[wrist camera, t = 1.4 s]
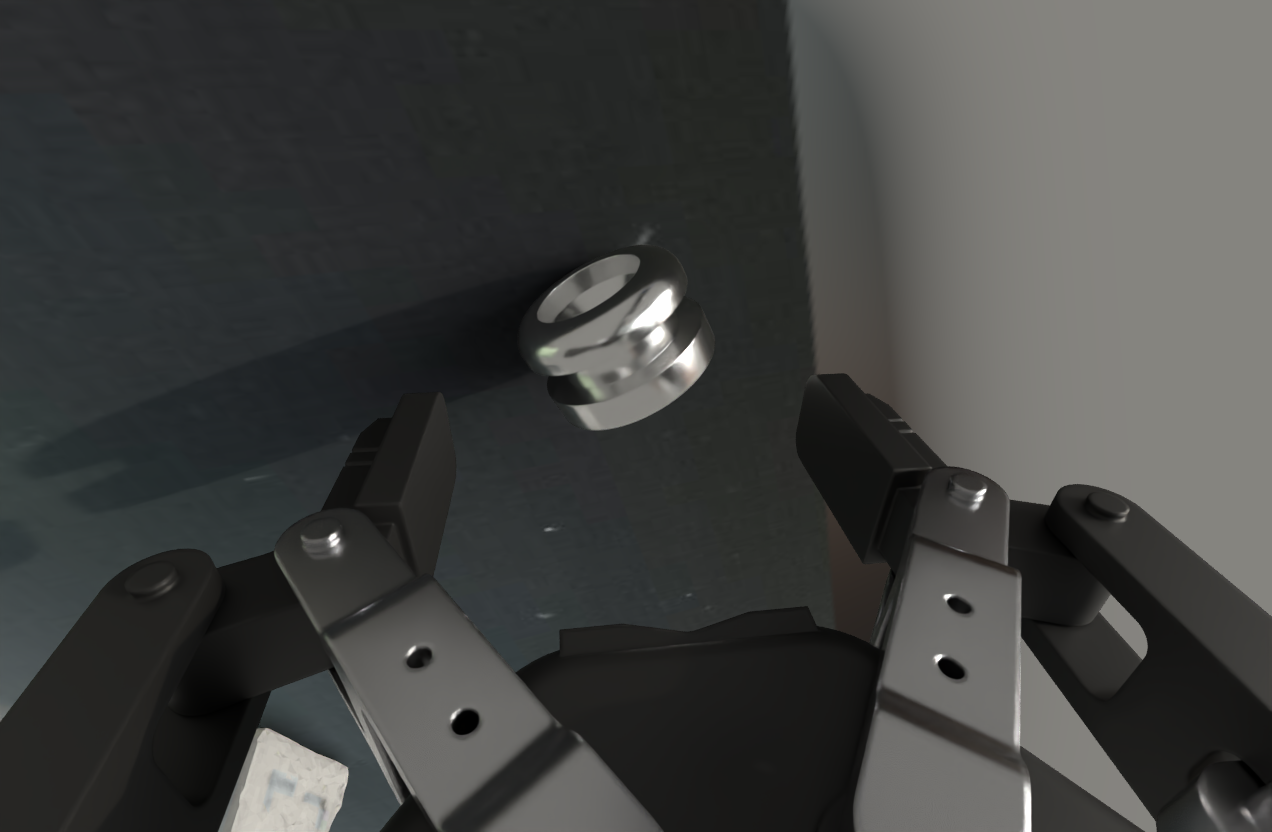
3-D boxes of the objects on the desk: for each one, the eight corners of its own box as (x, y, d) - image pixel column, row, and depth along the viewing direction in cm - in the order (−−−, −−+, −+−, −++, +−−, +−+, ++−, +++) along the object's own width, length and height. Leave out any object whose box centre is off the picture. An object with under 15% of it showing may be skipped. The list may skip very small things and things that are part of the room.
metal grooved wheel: (562, 368, 19) (563, 457, 15) (513, 295, 18) (500, 373, 14) (695, 300, 18) (735, 374, 14) (656, 217, 17) (689, 273, 13)
